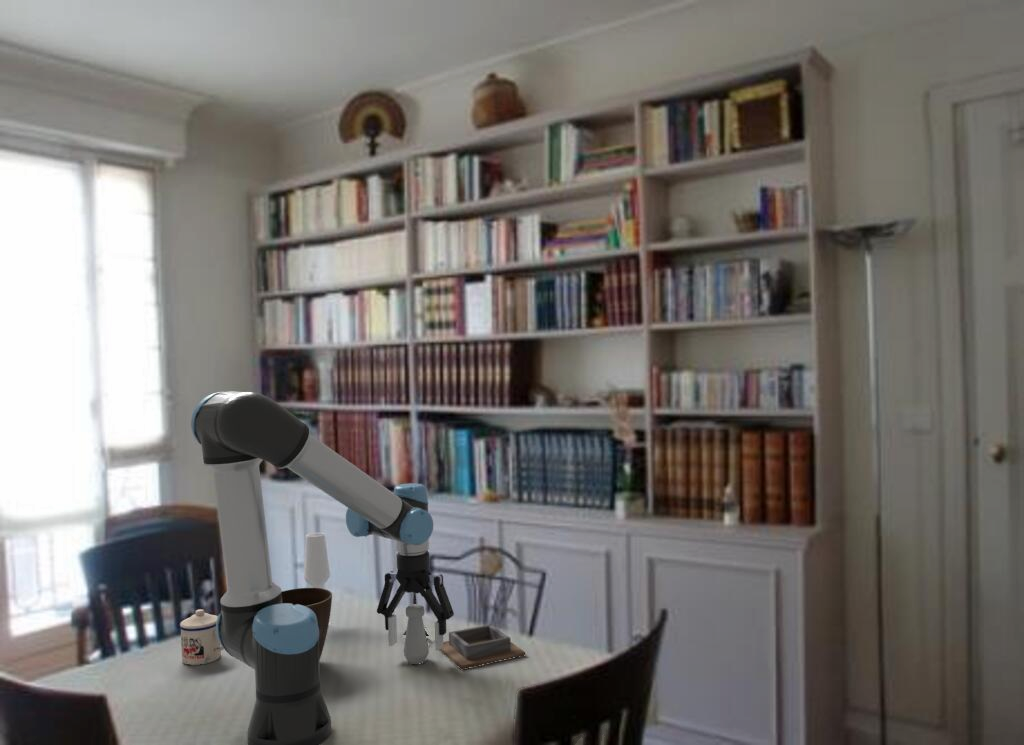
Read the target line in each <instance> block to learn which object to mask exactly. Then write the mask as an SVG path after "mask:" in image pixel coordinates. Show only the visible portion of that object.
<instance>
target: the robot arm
mask: <svg viewBox="0 0 1024 745" xmlns="http://www.w3.org/2000/svg"><path fill="white" fill-rule="evenodd" d="M196 405H197V406H195V408H194V410H193V413H192V415H191V420H190V427H191V432H192V434H193V436H194V439H195V440H196V442H197V443H198V444H200V445H201V453H202V460H203V465H204V466H205V467H207V468H208V469H209V470H211V472H212V473H213V479H214V480H213V481H214V487H215V496H216V506H217V515H218V522H219V524H218V525H219V532H220V540H221V548H222V549H221V550H222V554H223V555H222V556H223V563H224V564H223V565H224V573H225V579H226V592H224V594H223V596H222V597H221V598H220V608H221V609H220V610H221V611H220V613H219V614H218V615H217V616H218V618H217V622H216V634H217V638H218V641H219V643H220V646H222V647H223V648H224V649H223V650H224V651H226V653H227V655H229V656H231V657H233V658H234V659H236V660H239V661H240V662H242V663H243V664H245V665H246V666H248V667H250V668H252V669H253V670H254V676H255V702H254V706H253V710H252V713H251V716H250V720H249V723H248V727H247V733H246V734H247V745H320V744H322V743H323V742H325V741H326V740H327V739H328V738H329V737H330V736H331V733H332V717H331V714H330V712H329V709H328V707H327V704H326V702H325V698H324V696H323V693H322V690H321V672H320V671H321V670H320V668H321V667H320V665H321V664H320V661H319V627H318V622H317V617H316V615H315V613H314V612H313V611H312V610H311V609H310V608H308V607H306V606H303V605H299V604H297V605H293V604H291V603H283V601H282V593H281V592H282V587H280V585H277V584H276V583H274V581H273V578H272V568H271V560H270V551H269V550H270V549H269V541H268V533H267V525H266V524H267V523H266V516H265V515H266V514H265V507H264V499H263V489H262V488H263V487H262V481H261V473H260V472H261V471H260V465H261V463H262V462H263V461H266V462H267V463H269V464H271V465H272V466H273V467H275V468H277V469H279V470H280V469H286V468H287V469H288V470H289V471H291V472H293V473H295V474H296V475H298V476H299V477H300V478H302V479H303V480H305V481H306V482H308V483H309V484H311V485H313V486H314V487H316V488H318V489H319V490H321V491H322V492H323V493H325V494H327V495H328V496H330V497H331V498H332V499H334V500H335V501H337V502H339V504H341V505H343V506H345V507H346V508H347V509H346V513H345V523H346V527H347V530H348V532H349V533H350V534H351V536H352V537H356V538H360V537H368V536H371V535H374V536H378V537H382V538H385V539H389V540H392V541H395V550H396V552H397V554H396V570H397V572H394V571H393V570H391V571H388V572H387V573H385V575H384V585H383V588H382V591H381V595H380V598H379V602H378V605H377V608H376V613H377V614H378V615H379V614H380V615H382V616H384V625H385V626H384V627H385V630H386V631H388V646H389V647H393V646H394V645H395V644H396V643H398V629H397V628H398V627H397V623H398V622H397V614H395V610H396V609H397V607H398V605H399V604H400V602H401V600H402V598H403V597H404V595H405V594H406V593H409V594H410V593H413V592H414V593H416V594H420V596H421V597H422V598H424V600H425V602H426V603H427V604H428V607H429V608H430V609H431V611H432V613H433V615H434V616H435V618H436V620H435V621H434V628H435V640H434V643H435V644H434V645H435V646H434V647H435V651H439V650H440V649H441V648H442V647H443V642H444V635H445V634H446V633H447V620H450V619H452V617H454V615H455V613H454V610H453V607H452V604H451V601H450V598H449V596H448V594H447V590H446V587H445V585H444V575H443V574H441V573H439V574H438V575H434V574H433V575H432V573H431V571H430V567H431V564H430V561H431V560H430V552H429V551H428V550H429V549H430V541H429V540H430V537H431V536H432V534H433V531H434V519H433V517H432V515H431V513H429V499H428V492H427V491H428V490H427V487H426V486H425V485H424V484H422V483H417V482H416V483H413V482H411V483H400V484H398V485H396V486H395V487H394V489H393V491H391V490H390V489H388V488H387V487H386V486H384V485H383V484H381V483H380V482H378V481H377V480H376V479H374V478H373V477H371V476H370V475H368V474H367V473H365V472H364V471H363V470H362V469H360V468H359V467H358V466H356V465H355V464H354V463H352V462H350V461H349V460H347V459H346V458H345V457H343V456H342V455H340V454H339V453H337V452H336V451H335V450H333V449H332V448H330V446H327V444H325V443H323V442H322V441H320V440H319V439H318V438H317V437H315V436H313V435H312V434H311V428H310V426H308V424H306V423H305V422H303V421H302V420H301V419H299V418H298V417H297V416H295V415H294V414H293V413H291V412H290V411H288V410H287V409H286V408H284V407H283V406H282V405H280V404H279V403H277V402H276V401H275V400H274V399H272V398H269V397H268V396H266V395H264V394H262V393H259V392H252V391H235V390H222V391H219V392H215V393H211V394H209V395H207V396H205V397H204V398H203V399H201V400H200V401H199V403H198V404H196ZM396 580H397V581H398V583H399V586H398V588H397V590H396V592H395V594H394V595H393V597H392V599H391V601H390V598H391V594H392V591H393V588H394V584H395V582H396ZM430 582H431V584H432V585H433V587H434V590H435V594H436V596H437V597H436V596H435V594H434V591H433V589H432V587H431V586H430V584H429V583H430ZM389 601H390V603H389ZM439 652H440V651H439Z"/></svg>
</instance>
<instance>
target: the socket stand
mask: <svg viewBox="0 0 1024 745" xmlns="http://www.w3.org/2000/svg"><path fill="white" fill-rule="evenodd" d="M440 651H441V652H442V653H441V652H440ZM440 651H439V652H440V653H441V654H443V656H445V655H446V656H447V657H448V658H449V659H450V660H449V659H448V658H447V657H446V656H445V657H446V658H447V659H448V660H449V661H450V662H452V661H453V662H454V663H455V664H456V665H457V666H459V667H460V668H461V669H464V670H466V669H465V668H469V667H473V668H475V667H474V666H478V667H480V666H479V665H482V664H487V663H491V662H495V661H499V660H504V659H509V658H513V657H519V656H524V655H525V656H526V652H525V650H523V649H521V647H519V646H517V645H516V644H515V643H513V642H511V637H510V636H508V635H507V634H506V633H504V632H503V631H501V630H500V629H499V628H497V627H496V626H494V625H492V624H490V623H489V624H486V625H485V624H484V625H480V626H475V627H470V628H466V629H465V628H464V629H460V630H459V629H458V630H454V631H450V632H448V641H443V647H442V648H441V649H440ZM525 656H524V657H525ZM453 662H452V663H453ZM454 663H453V664H454ZM455 664H454V665H455ZM456 665H455V666H456ZM487 665H488V664H487ZM457 666H456V667H457ZM460 668H459V669H460ZM461 669H460V670H461ZM469 669H470V668H469Z"/></svg>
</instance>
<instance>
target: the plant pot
mask: <svg viewBox="0 0 1024 745" xmlns="http://www.w3.org/2000/svg"><path fill="white" fill-rule="evenodd" d="M281 593H282V601H283V603H291V604H293V605H297V604H299V605H303V606H306V607H308V608H310V609H311V610H312V611H313V612H314V613H315V615H316V617H317V622H318V627H319V662H320V660H321V658H322V654H323V650H324V647H325V643H326V639H327V635H328V629H329V626H328V625H329V621H330V618H331V611H332V600H333V592H332V591H331V590H329V589H327V588H326V589H325V588H322V587H321V588H313V587H300V588H292V589H286V590H283V591H282V590H281Z"/></svg>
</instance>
